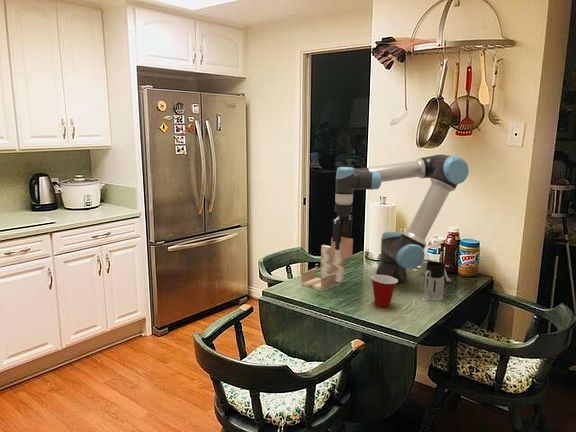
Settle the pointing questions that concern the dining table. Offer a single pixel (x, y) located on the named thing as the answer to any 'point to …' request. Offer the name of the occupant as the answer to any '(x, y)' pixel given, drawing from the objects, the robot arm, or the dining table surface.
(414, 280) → the dining table surface
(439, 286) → the glass holder
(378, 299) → the plastic cup
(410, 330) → the dining table surface
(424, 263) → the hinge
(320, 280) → the wooden block stack
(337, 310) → the dining table surface
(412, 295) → the dining table surface
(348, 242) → the rail end
